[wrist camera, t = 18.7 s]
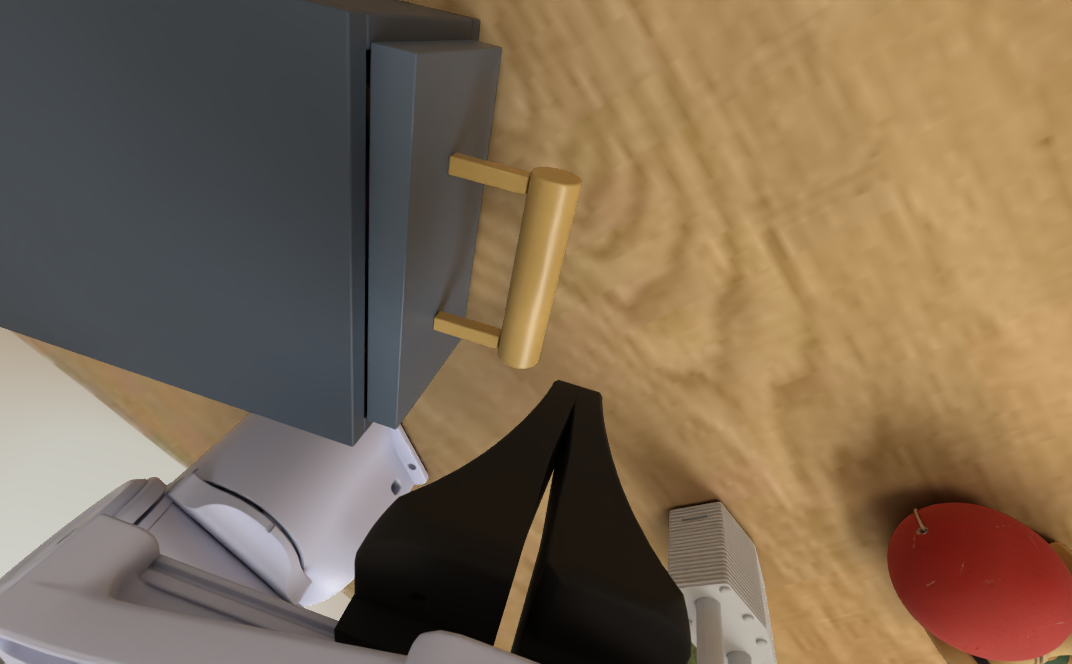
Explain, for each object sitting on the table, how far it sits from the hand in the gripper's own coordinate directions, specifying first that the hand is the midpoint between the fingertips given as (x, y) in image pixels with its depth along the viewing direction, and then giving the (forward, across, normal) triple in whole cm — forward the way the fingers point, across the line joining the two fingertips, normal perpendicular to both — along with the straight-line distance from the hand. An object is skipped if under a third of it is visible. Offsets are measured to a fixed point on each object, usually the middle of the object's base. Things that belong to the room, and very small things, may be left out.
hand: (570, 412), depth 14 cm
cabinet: (+9, +15, -2) cm, 17 cm away
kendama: (+9, -24, +10) cm, 27 cm away
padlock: (+9, -10, +14) cm, 19 cm away
